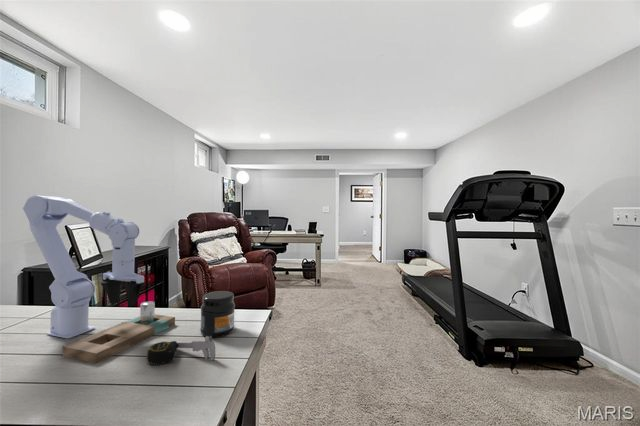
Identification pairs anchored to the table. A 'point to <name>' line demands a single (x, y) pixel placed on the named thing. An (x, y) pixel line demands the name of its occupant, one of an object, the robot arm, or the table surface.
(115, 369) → the table surface
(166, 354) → the tape measure
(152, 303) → the metal pin
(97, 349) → the board
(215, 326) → the supplement container
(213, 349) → the caliper
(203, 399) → the table surface
